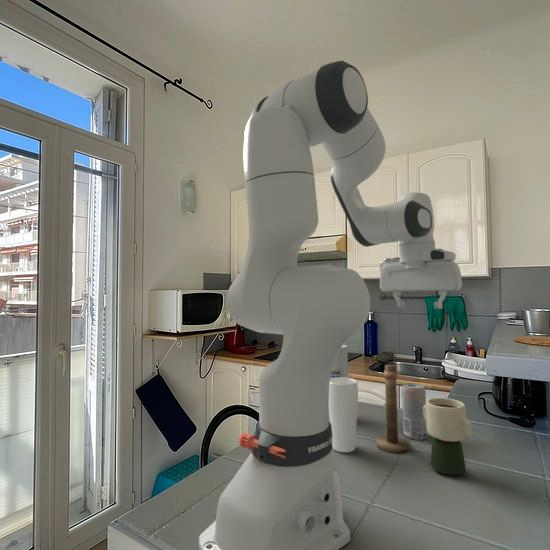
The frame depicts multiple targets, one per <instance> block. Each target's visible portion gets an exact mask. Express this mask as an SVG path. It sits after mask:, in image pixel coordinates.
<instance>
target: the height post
mask: <svg viewBox="0 0 550 550" xmlns="http://www.w3.org/2000/svg"><path fill="white" fill-rule="evenodd" d="M383 374H384V375H383V377H384V384H385V386H384V387H385V388H384V389H385V420H386V421H385V422H386V423H385V424H386V425H385V426H386V435H380V436H378V437H376V439H375V440H376V441H375V442H376V446H377V448H378V449H379V450H382V451H383V452H387V453H390V454H391V453H393V454H402V453H403V454H404V453H406V452H408V451H409V449H410V442H409V441H408V440H407V439H405V438H403V437H401V436H399V433H398V432H399V429H398V400H397V399H398V397H397V395H398V394H397V393H398V392H397V391H398V390H397V379H398V371H397V365H394V364H384V370H383Z"/></svg>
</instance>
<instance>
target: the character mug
mask: <svg viewBox="0 0 550 550" xmlns="http://www.w3.org/2000/svg"><path fill="white" fill-rule="evenodd" d="M423 414H424V419H425V420H426V421H427V434H428V435H429V436H430V437H432V443H431V452H430V466H431V468H432V469H433V470H435V471H437V472H439V473H442V474H447V475H458V474H463V473H464V474H465V473H467V468H466V461H465V456H464V455H465V454H464V449H463V445H462V442H461V441H463V440H465V439H466V438H468V439H471V438H472V437H473V423H472V421H471V419H468V417H467V416H468V415H467V407H466V404H465V403H464V402H463V401H460V400H457V399H453V398H446V397H432V398H426V405H424V407H423Z"/></svg>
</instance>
